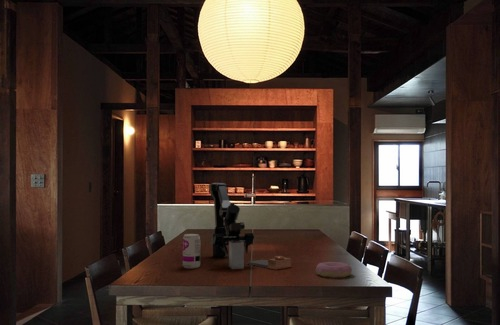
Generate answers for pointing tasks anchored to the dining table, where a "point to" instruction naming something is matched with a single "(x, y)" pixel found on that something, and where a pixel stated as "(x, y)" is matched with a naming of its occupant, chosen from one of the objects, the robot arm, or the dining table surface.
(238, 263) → the lock block
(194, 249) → the supplement can
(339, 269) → the donut
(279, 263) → the block
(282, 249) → the dining table surface
